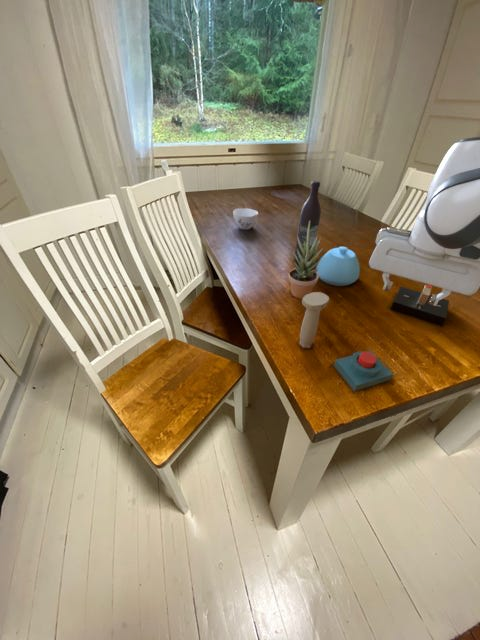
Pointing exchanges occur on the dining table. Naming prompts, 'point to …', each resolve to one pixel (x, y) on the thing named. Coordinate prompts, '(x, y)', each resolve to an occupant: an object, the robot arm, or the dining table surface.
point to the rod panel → (420, 307)
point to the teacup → (245, 217)
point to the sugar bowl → (339, 267)
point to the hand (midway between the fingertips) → (408, 296)
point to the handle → (311, 316)
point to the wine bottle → (309, 219)
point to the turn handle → (424, 295)
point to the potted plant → (305, 268)
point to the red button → (366, 360)
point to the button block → (362, 372)
